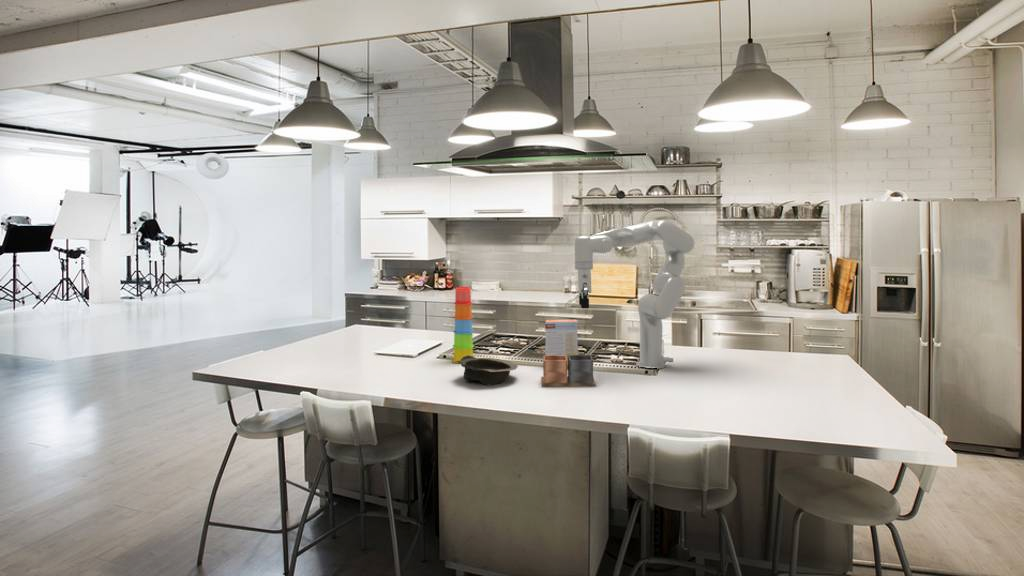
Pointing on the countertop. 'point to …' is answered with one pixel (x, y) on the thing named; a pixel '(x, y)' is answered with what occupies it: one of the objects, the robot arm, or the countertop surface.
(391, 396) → the countertop surface
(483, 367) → the stone bowl
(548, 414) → the countertop surface
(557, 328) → the cracker box
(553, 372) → the double bin organizer
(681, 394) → the countertop surface
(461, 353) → the stacking cups
